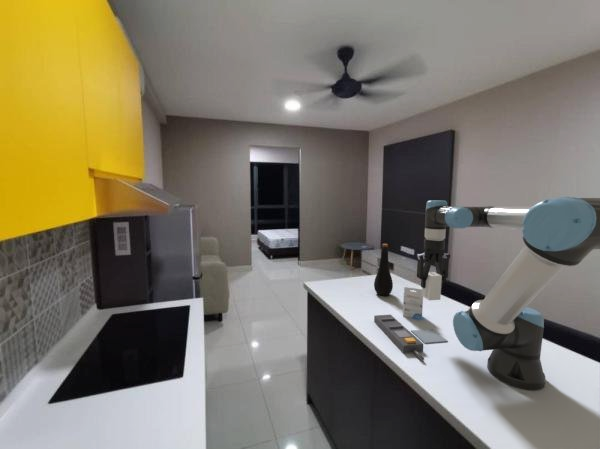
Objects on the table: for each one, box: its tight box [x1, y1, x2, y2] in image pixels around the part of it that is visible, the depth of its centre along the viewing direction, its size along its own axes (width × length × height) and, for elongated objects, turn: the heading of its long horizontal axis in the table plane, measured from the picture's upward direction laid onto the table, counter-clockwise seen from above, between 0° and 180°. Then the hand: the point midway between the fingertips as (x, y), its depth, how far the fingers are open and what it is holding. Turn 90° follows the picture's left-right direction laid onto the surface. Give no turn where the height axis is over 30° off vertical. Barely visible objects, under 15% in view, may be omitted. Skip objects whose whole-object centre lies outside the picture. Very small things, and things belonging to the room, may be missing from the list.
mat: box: [410, 328, 448, 345], centre depth 117 cm, size 10×10×1 cm
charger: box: [422, 271, 442, 301], centre depth 115 cm, size 5×5×10 cm
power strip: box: [373, 314, 425, 362], centre depth 115 cm, size 32×8×4 cm, turn 9°
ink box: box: [402, 286, 424, 321], centre depth 135 cm, size 8×5×15 cm, turn 62°
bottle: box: [373, 243, 394, 298], centre depth 164 cm, size 11×11×30 cm
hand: (431, 294), depth 115 cm, fingers closed on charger, 5 cm apart
